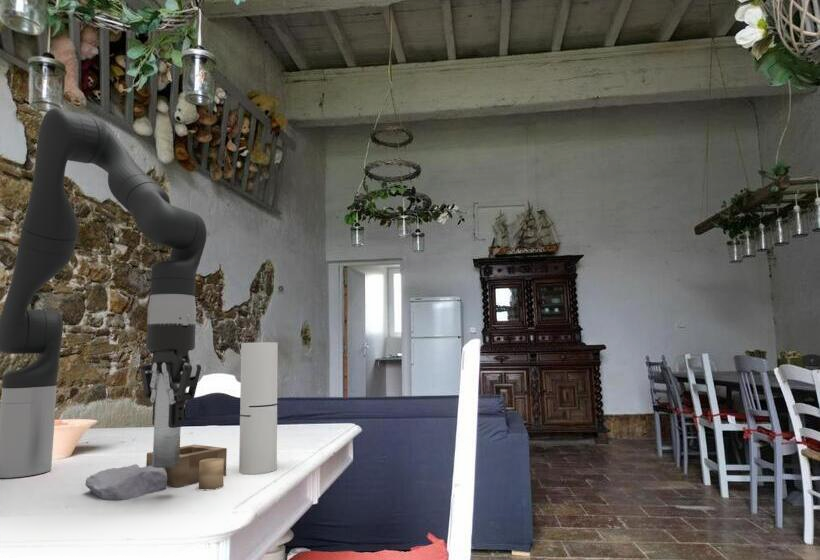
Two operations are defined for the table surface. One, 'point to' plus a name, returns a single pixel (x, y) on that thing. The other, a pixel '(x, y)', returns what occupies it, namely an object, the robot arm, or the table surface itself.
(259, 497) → the table surface
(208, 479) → the oak stub
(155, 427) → the steel pin
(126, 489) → the stone block
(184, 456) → the collar
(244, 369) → the cylindrical container
